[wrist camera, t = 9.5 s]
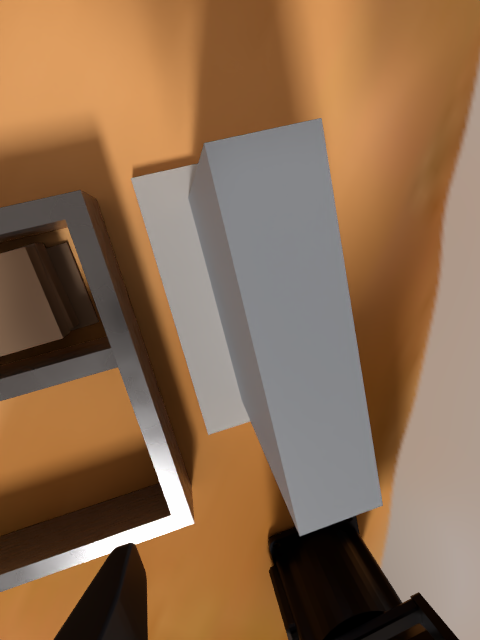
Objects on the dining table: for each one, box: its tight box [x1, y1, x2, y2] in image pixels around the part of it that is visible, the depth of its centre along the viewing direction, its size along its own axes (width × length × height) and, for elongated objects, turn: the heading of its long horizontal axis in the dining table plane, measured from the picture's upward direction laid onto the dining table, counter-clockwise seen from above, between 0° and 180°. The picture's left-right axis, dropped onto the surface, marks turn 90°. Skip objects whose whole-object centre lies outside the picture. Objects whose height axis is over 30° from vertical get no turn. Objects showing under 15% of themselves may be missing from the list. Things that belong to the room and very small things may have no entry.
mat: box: [131, 164, 250, 435], centre depth 20 cm, size 8×15×1 cm, turn 14°
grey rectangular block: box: [188, 118, 383, 536], centre depth 15 cm, size 12×3×10 cm, turn 14°
